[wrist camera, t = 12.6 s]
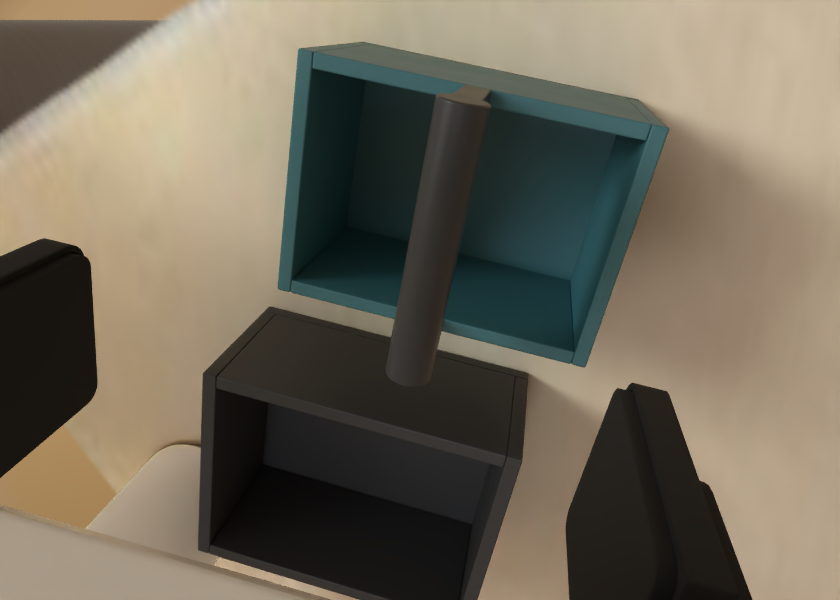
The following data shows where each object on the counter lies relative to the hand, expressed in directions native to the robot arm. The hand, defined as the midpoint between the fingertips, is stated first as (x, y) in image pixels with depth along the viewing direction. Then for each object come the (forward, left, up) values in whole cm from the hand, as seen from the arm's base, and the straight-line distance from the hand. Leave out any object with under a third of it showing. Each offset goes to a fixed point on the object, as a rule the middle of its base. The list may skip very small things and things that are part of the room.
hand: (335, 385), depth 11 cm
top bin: (0, 0, -17) cm, 17 cm away
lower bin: (-2, -14, -17) cm, 22 cm away
